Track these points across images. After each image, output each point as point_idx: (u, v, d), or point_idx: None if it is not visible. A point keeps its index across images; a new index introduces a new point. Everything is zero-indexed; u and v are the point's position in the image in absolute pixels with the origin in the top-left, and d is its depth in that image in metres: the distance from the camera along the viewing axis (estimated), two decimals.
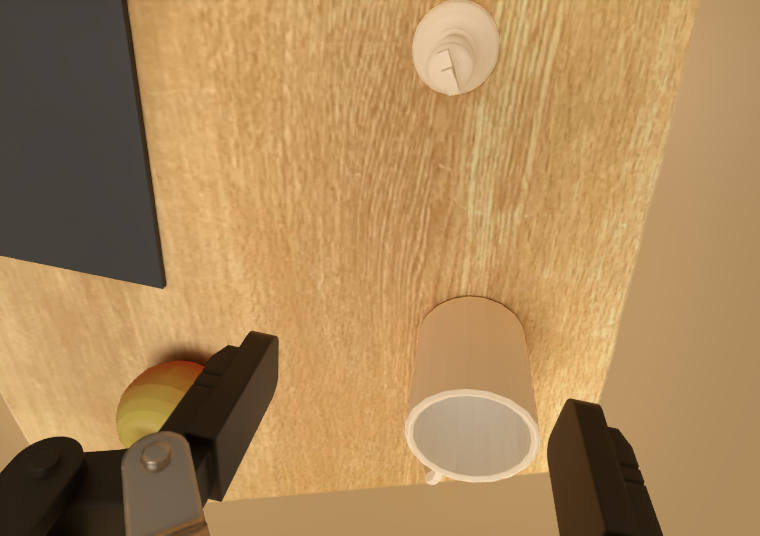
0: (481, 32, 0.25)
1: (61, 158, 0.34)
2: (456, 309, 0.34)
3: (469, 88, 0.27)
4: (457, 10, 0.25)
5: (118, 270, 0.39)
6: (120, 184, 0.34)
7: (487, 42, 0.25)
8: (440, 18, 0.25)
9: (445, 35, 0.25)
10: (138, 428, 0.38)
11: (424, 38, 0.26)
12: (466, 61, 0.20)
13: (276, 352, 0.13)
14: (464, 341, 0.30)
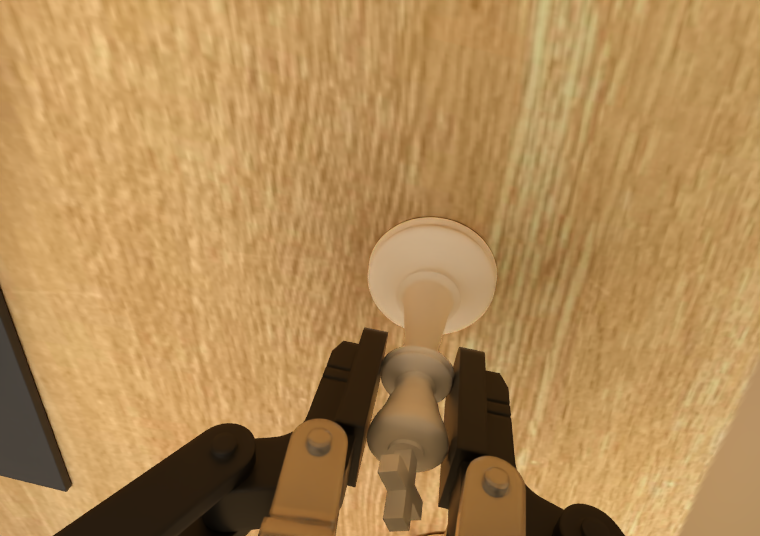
0: (468, 271, 0.17)
1: None
2: None
3: (452, 331, 0.18)
4: (432, 241, 0.16)
5: (7, 469, 0.30)
6: None
7: (478, 283, 0.17)
8: (406, 249, 0.17)
9: (413, 279, 0.16)
10: None
11: (384, 270, 0.17)
12: (435, 445, 0.11)
13: (385, 347, 0.14)
14: None
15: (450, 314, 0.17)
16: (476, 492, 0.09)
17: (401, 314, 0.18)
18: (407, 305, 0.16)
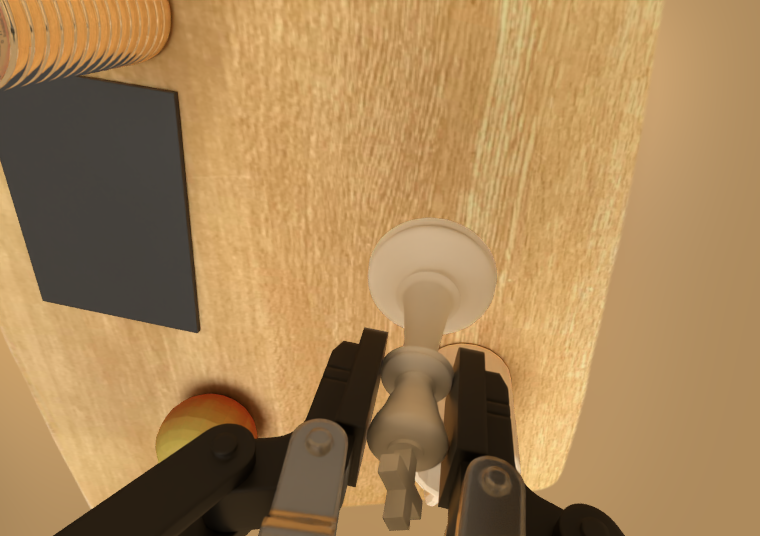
0: (468, 271, 0.17)
1: (115, 226, 0.40)
2: (451, 355, 0.40)
3: (451, 331, 0.18)
4: (432, 241, 0.16)
5: (158, 317, 0.45)
6: (165, 248, 0.40)
7: (478, 283, 0.17)
8: (406, 250, 0.17)
9: (413, 280, 0.16)
10: None
11: (384, 271, 0.17)
12: (435, 445, 0.11)
13: (385, 347, 0.14)
14: None
15: (450, 314, 0.17)
16: (476, 492, 0.09)
17: (401, 314, 0.18)
18: (407, 305, 0.16)
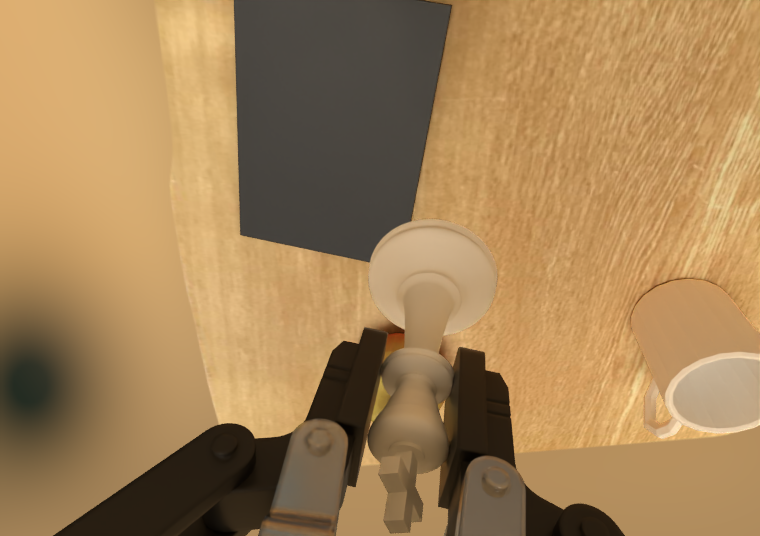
0: (469, 272, 0.17)
1: (343, 153, 0.40)
2: (684, 289, 0.39)
3: (452, 332, 0.18)
4: (432, 243, 0.16)
5: (363, 251, 0.44)
6: (392, 177, 0.40)
7: (478, 285, 0.17)
8: (407, 251, 0.17)
9: (414, 281, 0.16)
10: (384, 389, 0.43)
11: (384, 272, 0.17)
12: (436, 447, 0.11)
13: (385, 347, 0.14)
14: (711, 315, 0.36)
15: (450, 316, 0.17)
16: (476, 492, 0.09)
17: (401, 315, 0.18)
18: (407, 307, 0.16)
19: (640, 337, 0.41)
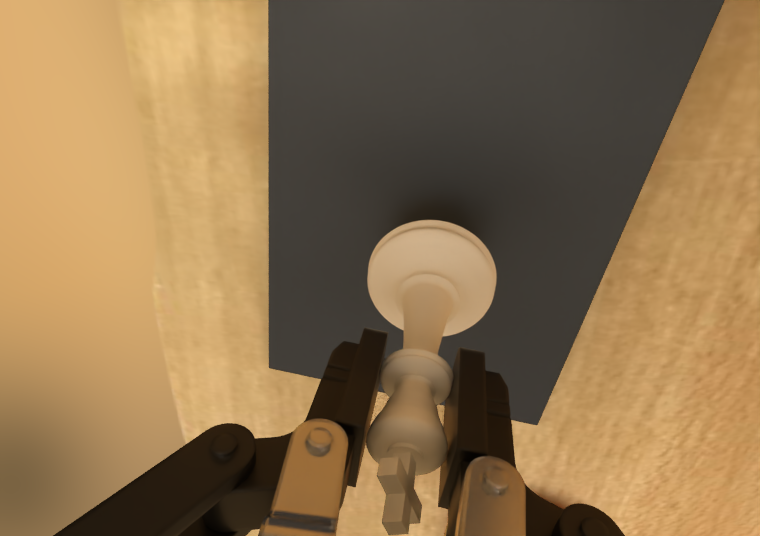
0: (468, 273, 0.17)
1: None
2: None
3: (451, 333, 0.18)
4: (431, 244, 0.16)
5: None
6: (545, 292, 0.22)
7: (478, 286, 0.17)
8: (406, 252, 0.17)
9: (413, 282, 0.16)
10: None
11: (384, 273, 0.17)
12: (434, 448, 0.11)
13: (385, 348, 0.14)
14: None
15: (449, 317, 0.17)
16: (476, 492, 0.09)
17: (401, 316, 0.18)
18: (406, 308, 0.16)
19: None
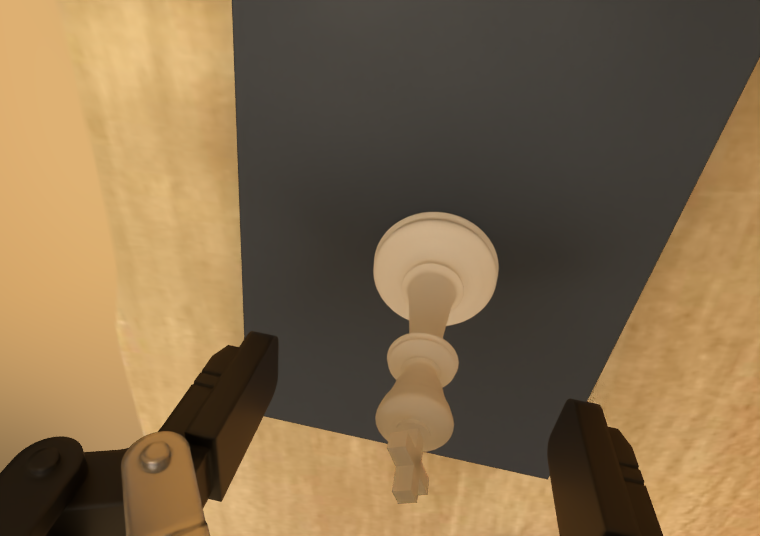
0: (471, 263, 0.17)
1: None
2: None
3: (454, 322, 0.19)
4: (436, 235, 0.17)
5: (478, 450, 0.24)
6: (559, 338, 0.19)
7: (480, 275, 0.17)
8: (411, 243, 0.17)
9: (418, 272, 0.17)
10: None
11: (390, 264, 0.18)
12: (441, 425, 0.12)
13: (276, 352, 0.13)
14: None
15: (453, 305, 0.17)
16: None
17: (405, 306, 0.19)
18: (412, 296, 0.16)
19: None
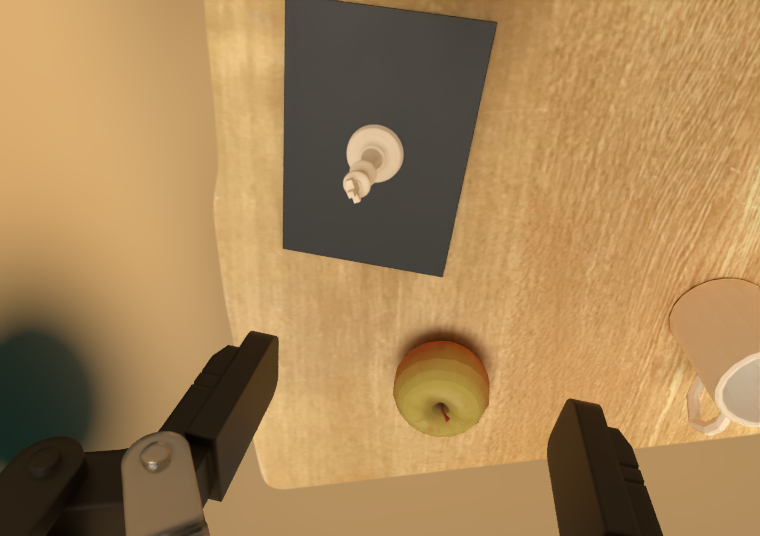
0: (389, 146, 0.39)
1: None
2: (723, 288, 0.40)
3: (384, 179, 0.41)
4: (372, 133, 0.39)
5: (405, 261, 0.45)
6: (435, 187, 0.41)
7: (393, 152, 0.39)
8: (362, 137, 0.39)
9: (365, 149, 0.39)
10: (430, 396, 0.44)
11: (353, 149, 0.39)
12: (365, 181, 0.33)
13: (276, 352, 0.13)
14: (755, 312, 0.37)
15: (381, 166, 0.39)
16: None
17: None
18: (361, 158, 0.38)
19: (682, 337, 0.41)
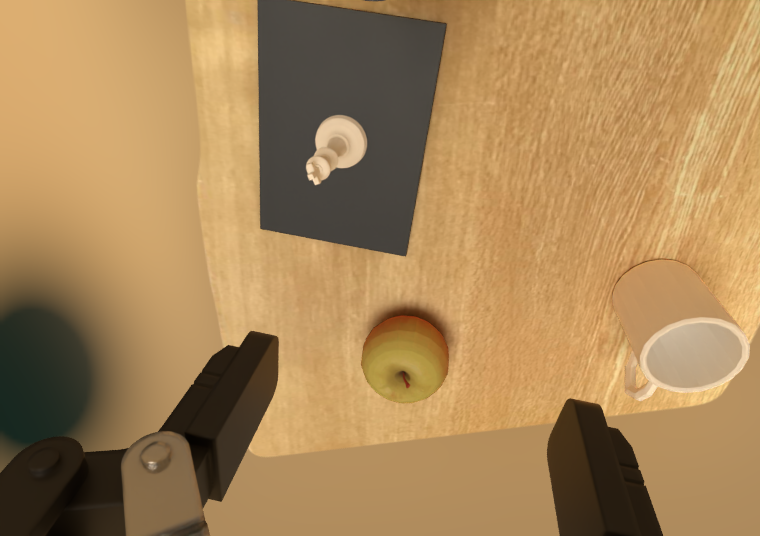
0: (352, 135, 0.43)
1: None
2: (656, 268, 0.44)
3: (350, 165, 0.45)
4: (338, 123, 0.43)
5: (371, 241, 0.49)
6: (397, 173, 0.45)
7: (357, 140, 0.43)
8: (328, 127, 0.43)
9: (331, 137, 0.43)
10: (392, 364, 0.48)
11: (321, 137, 0.43)
12: (325, 166, 0.37)
13: (276, 352, 0.13)
14: (679, 288, 0.41)
15: (346, 152, 0.43)
16: None
17: None
18: (327, 145, 0.42)
19: (619, 312, 0.46)
